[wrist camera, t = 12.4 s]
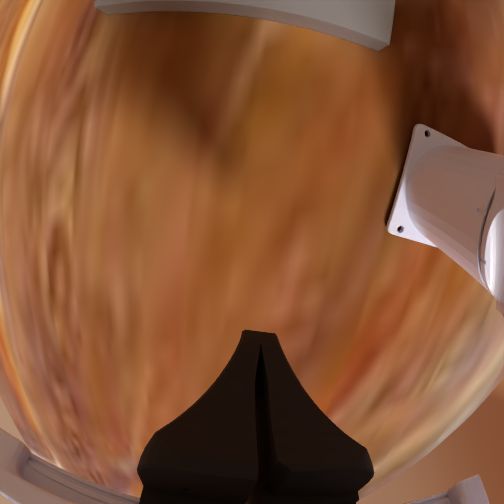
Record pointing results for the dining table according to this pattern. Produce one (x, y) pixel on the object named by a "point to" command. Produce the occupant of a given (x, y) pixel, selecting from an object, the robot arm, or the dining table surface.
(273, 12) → the panel
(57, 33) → the dining table surface
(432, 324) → the dining table surface
